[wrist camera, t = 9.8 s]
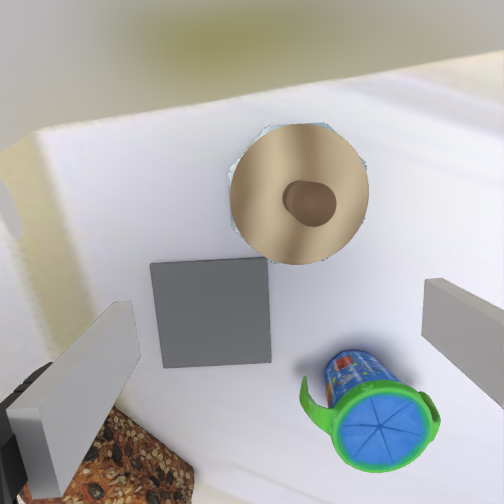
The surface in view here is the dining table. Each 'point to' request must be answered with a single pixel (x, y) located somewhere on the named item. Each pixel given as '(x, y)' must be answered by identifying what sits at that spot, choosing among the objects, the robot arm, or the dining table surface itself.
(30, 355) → the dining table surface
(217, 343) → the mat
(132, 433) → the bread
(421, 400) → the snack cup
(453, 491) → the dining table surface
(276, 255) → the lid
